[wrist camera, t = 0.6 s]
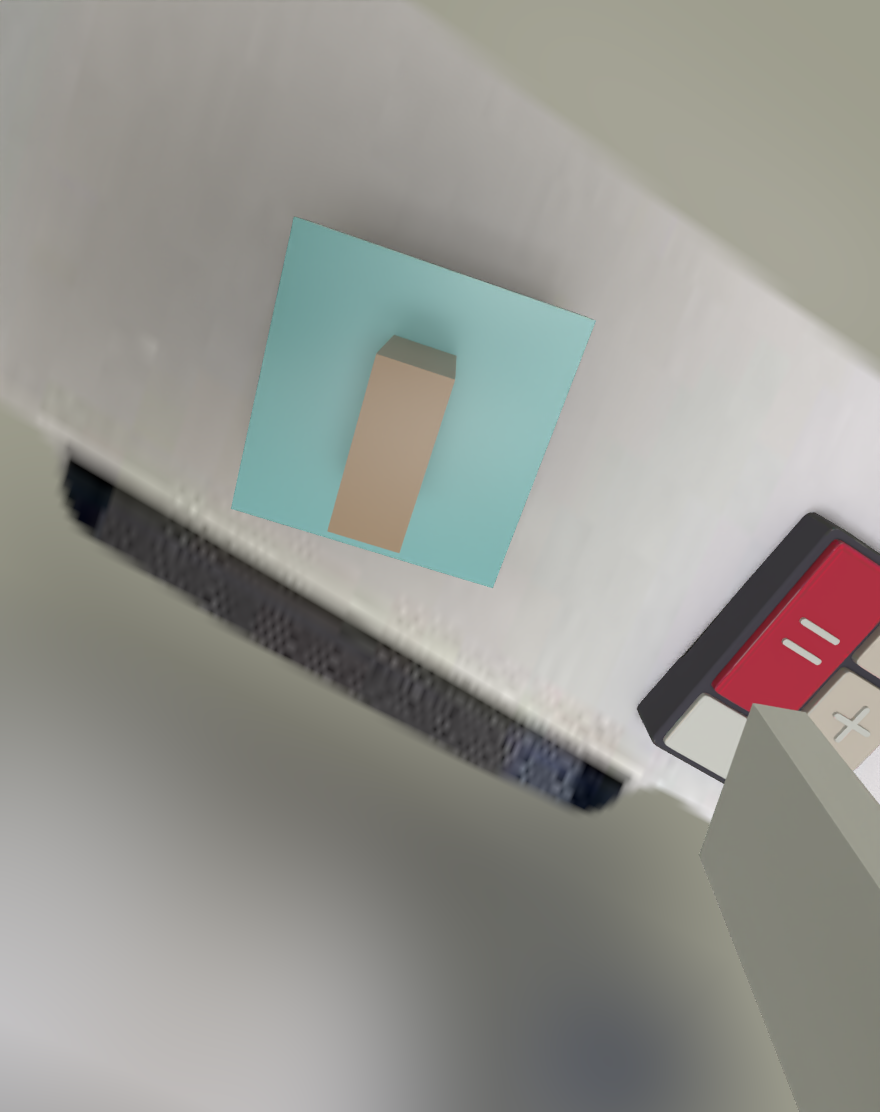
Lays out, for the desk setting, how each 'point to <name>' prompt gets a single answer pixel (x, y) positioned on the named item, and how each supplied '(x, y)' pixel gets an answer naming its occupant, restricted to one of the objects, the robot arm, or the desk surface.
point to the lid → (403, 404)
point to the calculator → (782, 654)
